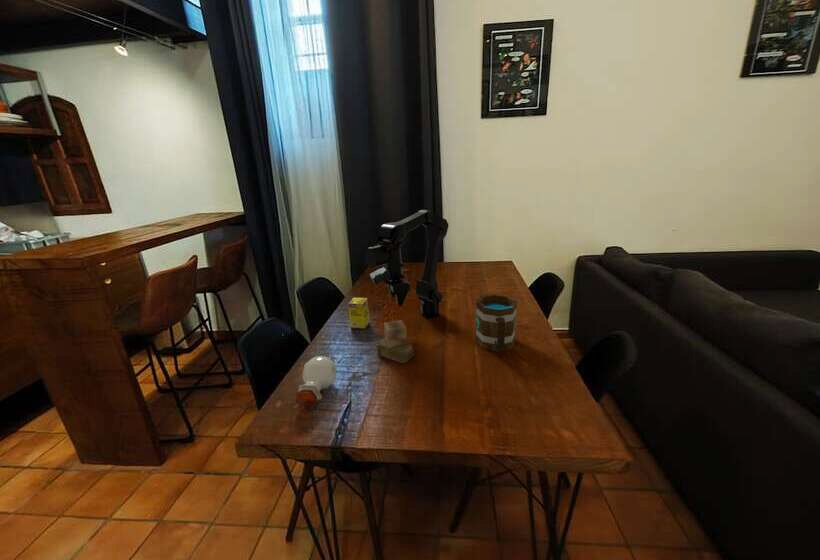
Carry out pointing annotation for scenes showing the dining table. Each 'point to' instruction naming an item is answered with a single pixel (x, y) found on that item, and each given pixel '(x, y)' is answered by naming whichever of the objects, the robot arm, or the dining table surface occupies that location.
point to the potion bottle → (315, 380)
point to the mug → (496, 322)
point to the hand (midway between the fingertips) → (396, 301)
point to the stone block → (395, 351)
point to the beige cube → (395, 333)
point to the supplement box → (359, 313)
